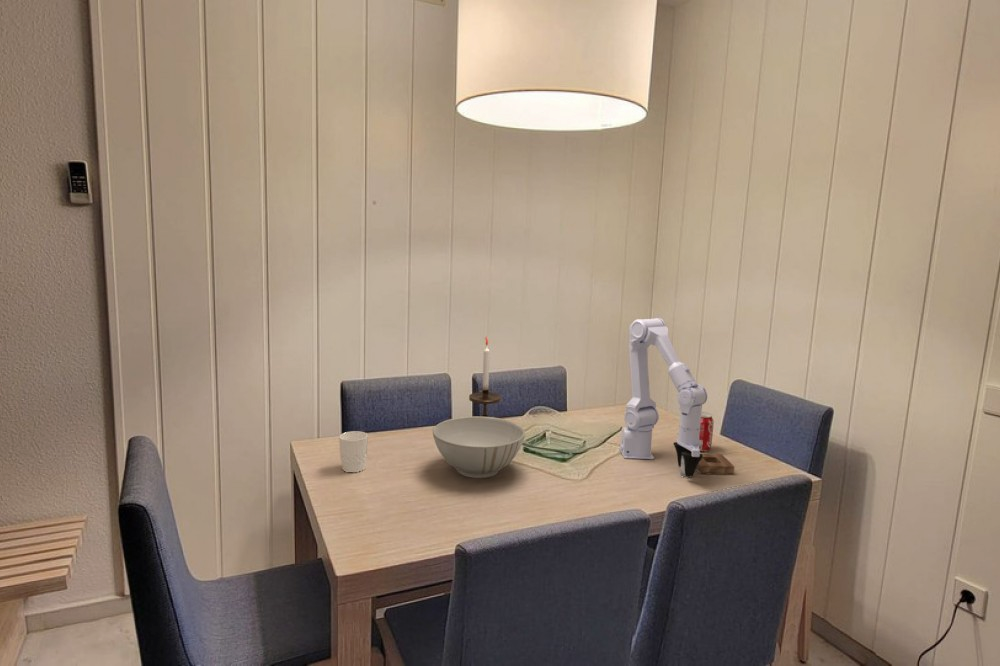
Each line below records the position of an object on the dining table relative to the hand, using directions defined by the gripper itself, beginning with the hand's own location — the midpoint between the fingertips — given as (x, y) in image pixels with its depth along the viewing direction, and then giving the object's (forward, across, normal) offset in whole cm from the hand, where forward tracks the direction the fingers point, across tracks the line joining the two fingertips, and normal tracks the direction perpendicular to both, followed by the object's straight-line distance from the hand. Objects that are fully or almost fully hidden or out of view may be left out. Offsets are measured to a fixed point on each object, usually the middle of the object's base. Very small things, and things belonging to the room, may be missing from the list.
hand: (685, 471), depth 172 cm
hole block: (+1, +7, -10) cm, 12 cm away
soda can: (+2, +23, -12) cm, 26 cm away
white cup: (+2, -2, +97) cm, 97 cm away
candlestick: (+2, +28, +60) cm, 66 cm away
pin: (+1, 0, 0) cm, 1 cm away
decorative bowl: (+2, 0, +61) cm, 61 cm away
